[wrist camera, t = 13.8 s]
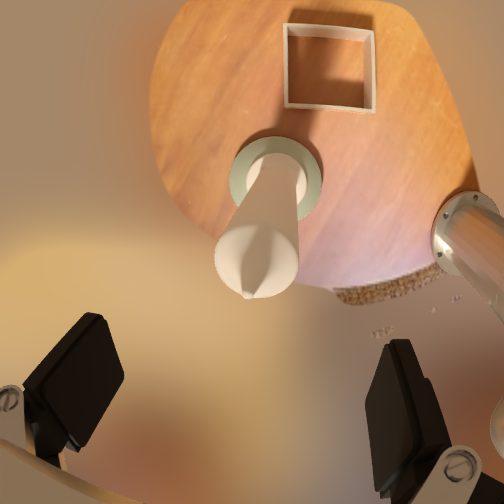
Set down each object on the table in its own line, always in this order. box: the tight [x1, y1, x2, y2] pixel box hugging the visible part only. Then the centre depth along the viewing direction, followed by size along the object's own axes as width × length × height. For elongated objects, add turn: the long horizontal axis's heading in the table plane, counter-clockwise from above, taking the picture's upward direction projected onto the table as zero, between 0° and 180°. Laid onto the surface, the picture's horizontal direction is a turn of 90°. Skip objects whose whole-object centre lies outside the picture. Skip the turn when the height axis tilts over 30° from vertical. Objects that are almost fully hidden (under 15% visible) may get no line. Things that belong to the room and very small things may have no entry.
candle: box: [215, 153, 307, 299], centre depth 25 cm, size 7×7×25 cm
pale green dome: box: [229, 136, 322, 221], centre depth 36 cm, size 11×11×1 cm
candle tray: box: [283, 23, 376, 114], centre depth 29 cm, size 10×10×4 cm
